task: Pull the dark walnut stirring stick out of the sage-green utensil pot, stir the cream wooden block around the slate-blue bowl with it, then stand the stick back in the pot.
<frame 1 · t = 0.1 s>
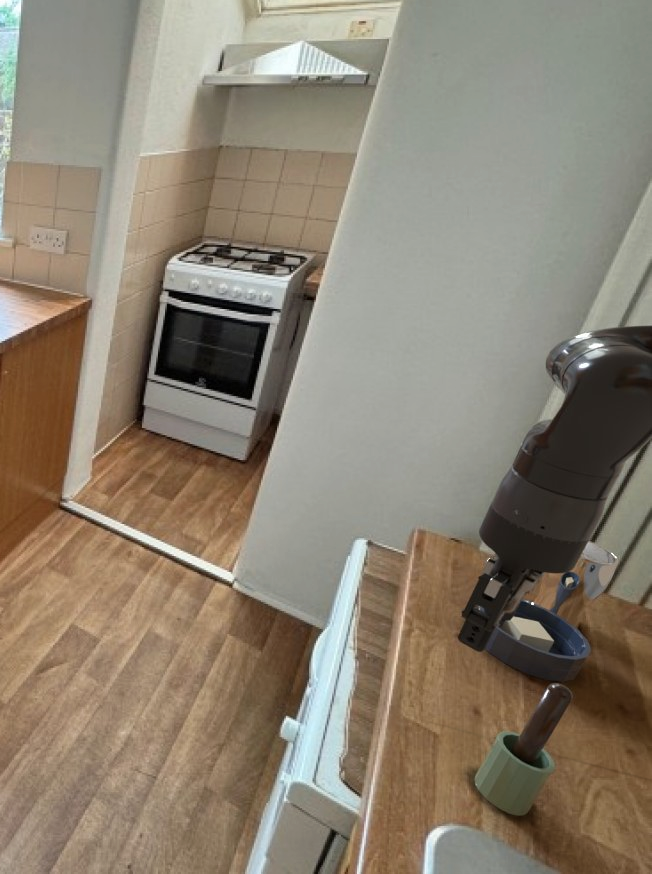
hand: (484, 629, 69), 25 cm above the countertop, tool pointing down, fingers open, 8 cm apart
block: (520, 646, 96), point 1 cm above the countertop, touching bowl
stir stick: (501, 793, 76), point 1 cm above the countertop, touching utensil pot
utensil pot: (499, 796, 76), on the countertop
beer glass: (550, 620, 102), on the countertop
bowl: (518, 650, 96), on the countertop
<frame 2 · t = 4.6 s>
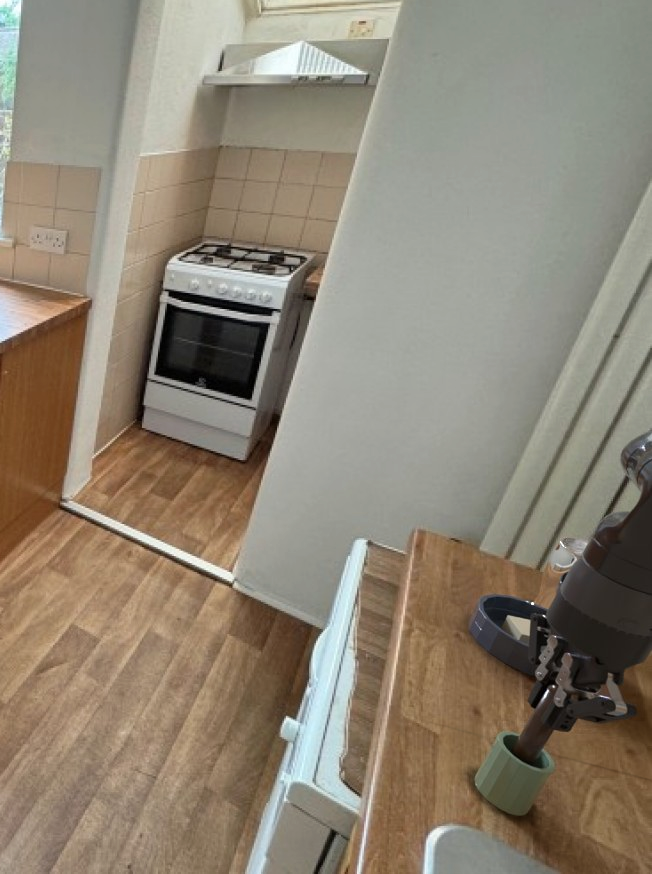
hand: (545, 716, 70), 15 cm above the countertop, tool pointing down, fingers closed on stir stick, 2 cm apart
stir stick: (500, 793, 76), point 1 cm above the countertop, touching gripper, utensil pot
everything else where it was.
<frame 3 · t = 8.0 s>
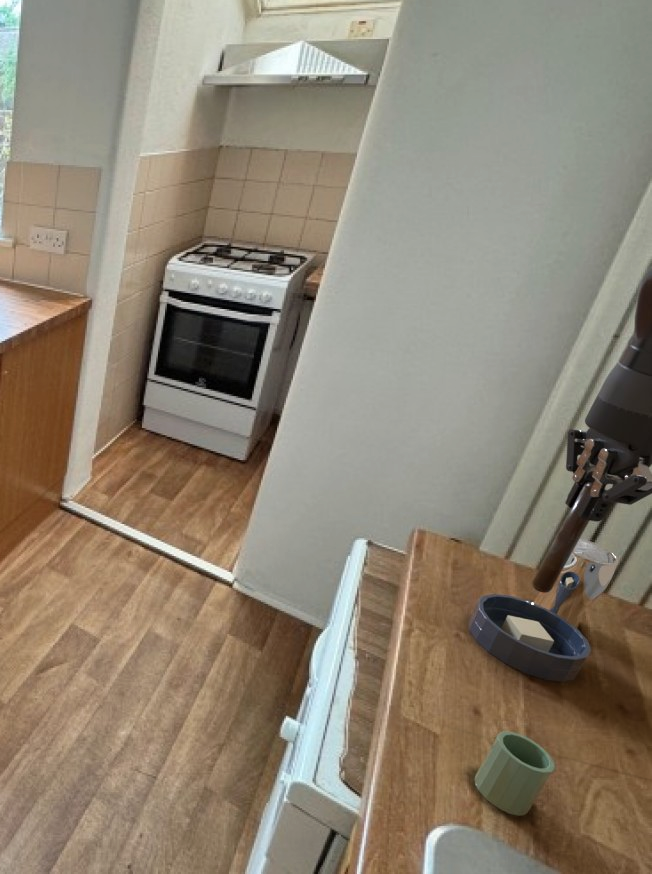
hand: (581, 512, 82), 29 cm above the countertop, tool pointing down, fingers closed on stir stick
stir stick: (539, 590, 88), point 15 cm above the countertop, touching gripper
everything else where it was.
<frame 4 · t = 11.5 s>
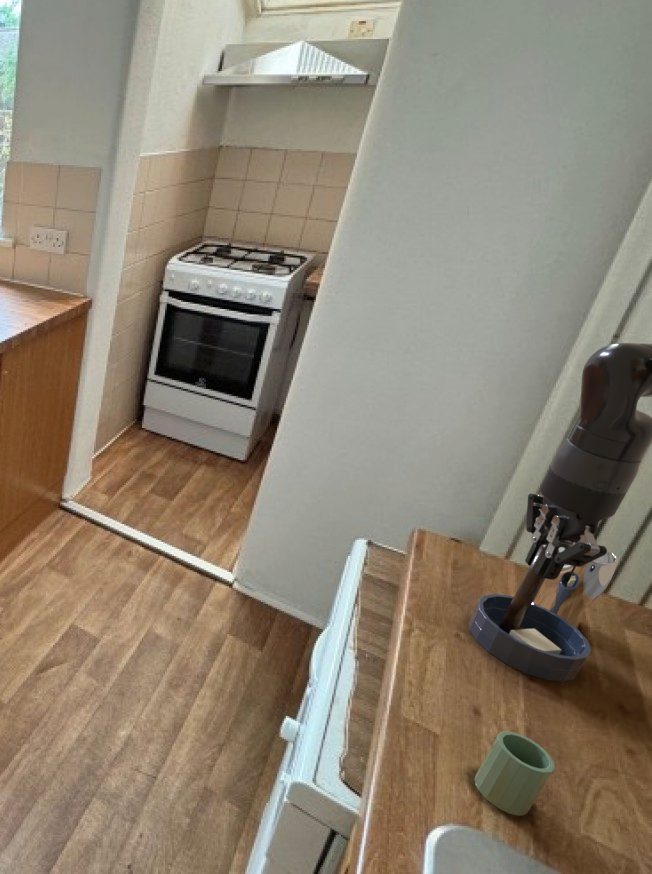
hand: (539, 570, 91), 16 cm above the countertop, tool pointing down, fingers closed on stir stick, 2 cm apart
block: (525, 658, 94), point 1 cm above the countertop, touching bowl, stir stick
stir stick: (502, 637, 96), point 2 cm above the countertop, touching block, gripper
everything else where it was.
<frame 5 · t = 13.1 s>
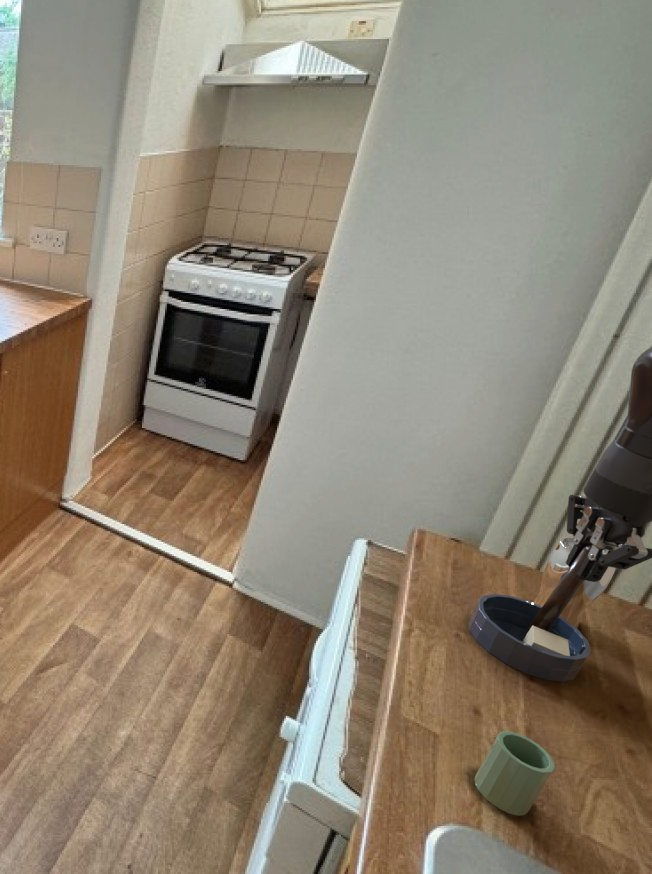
hand: (580, 572, 90), 16 cm above the countertop, tool pointing down, fingers closed on stir stick, 2 cm apart
block: (539, 658, 94), point 1 cm above the countertop, touching bowl, stir stick
stir stick: (531, 637, 96), point 2 cm above the countertop, touching block, gripper
everything else where it was.
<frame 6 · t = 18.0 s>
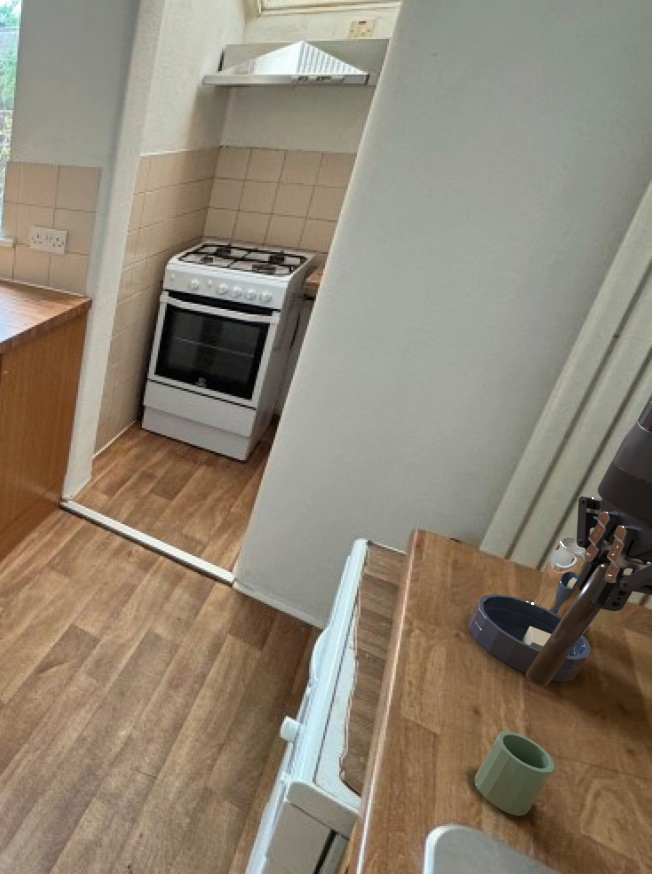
hand: (595, 598, 69), 29 cm above the countertop, tool pointing down, fingers closed on stir stick
block: (538, 659, 94), point 1 cm above the countertop, touching bowl
stir stick: (533, 682, 74), point 15 cm above the countertop, touching gripper
everything else where it was.
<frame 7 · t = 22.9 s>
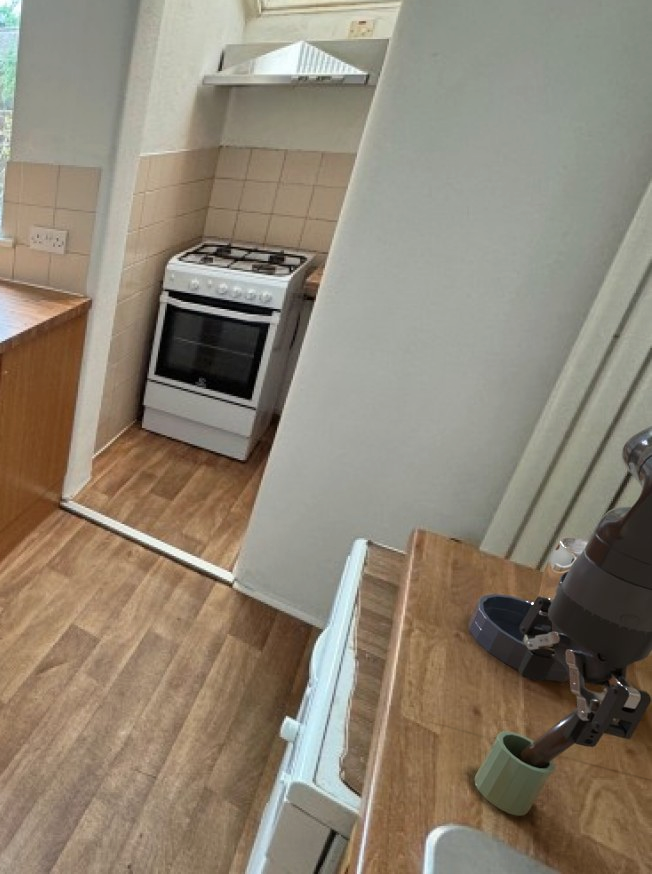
hand: (551, 707, 70), 16 cm above the countertop, tool pointing down, fingers open, 8 cm apart
stir stick: (490, 790, 76), point 1 cm above the countertop, tilted 14°, touching utensil pot
everything else where it was.
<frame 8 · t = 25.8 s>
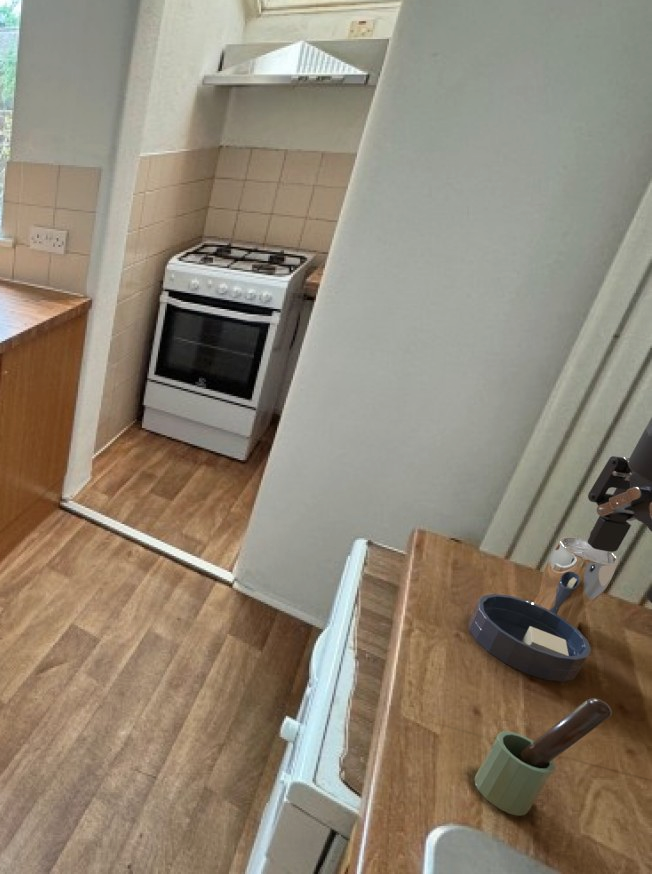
hand: (629, 574, 62), 36 cm above the countertop, tool pointing down, fingers open, 8 cm apart
nothing on the countertop moved.
at the end: block moved 2.5 cm from its start; block inside the target area in the bowl (2.4 cm from its centre), point 0.8 cm above the bowl's base; stir stick 1.1 cm off-centre in the utensil pot, point 0.6 cm above the utensil pot's base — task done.
